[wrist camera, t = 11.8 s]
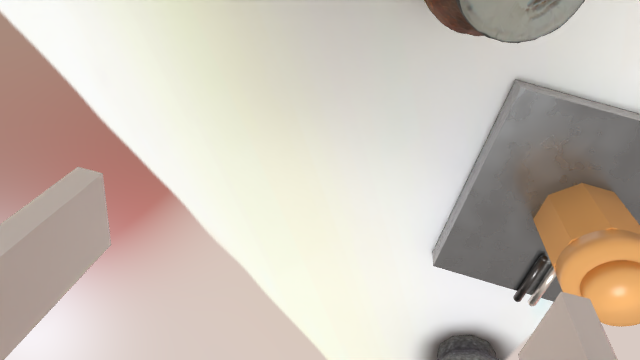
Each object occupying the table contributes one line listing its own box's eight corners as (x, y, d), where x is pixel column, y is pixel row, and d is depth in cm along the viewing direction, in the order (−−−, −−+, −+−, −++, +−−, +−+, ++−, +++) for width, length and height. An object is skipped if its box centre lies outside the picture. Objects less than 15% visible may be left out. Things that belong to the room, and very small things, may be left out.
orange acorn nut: (558, 175, 34) (604, 250, 26) (638, 197, 34) (709, 281, 26) (521, 236, 38) (551, 320, 30) (593, 257, 37) (644, 347, 29)
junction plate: (515, 79, 33) (538, 112, 27) (749, 144, 33) (825, 192, 27) (429, 258, 43) (432, 311, 37) (607, 311, 42) (639, 373, 36)
